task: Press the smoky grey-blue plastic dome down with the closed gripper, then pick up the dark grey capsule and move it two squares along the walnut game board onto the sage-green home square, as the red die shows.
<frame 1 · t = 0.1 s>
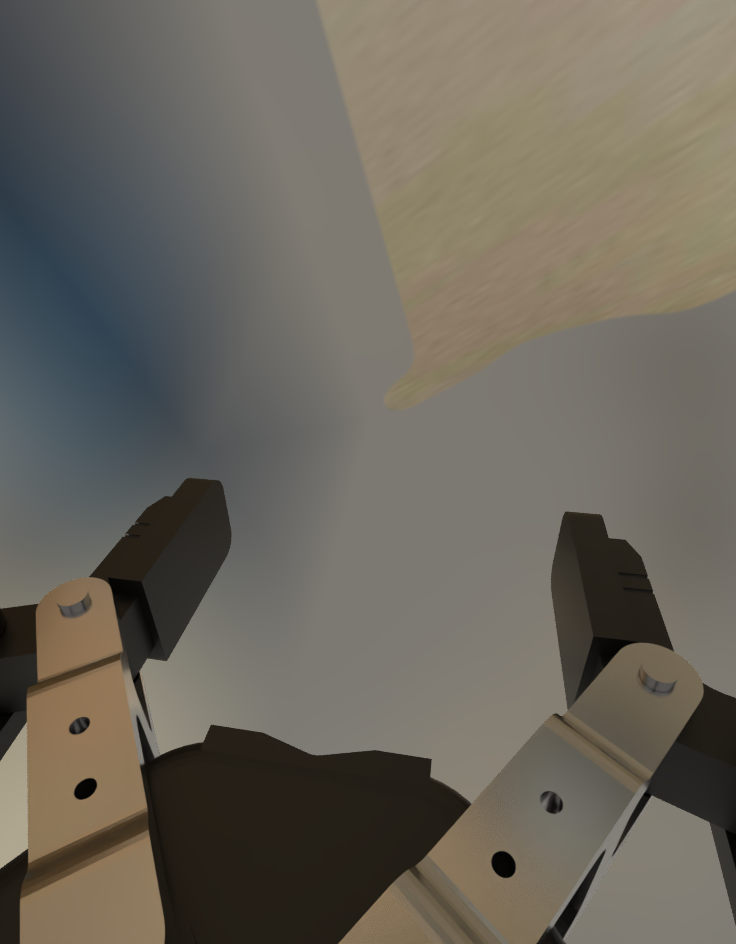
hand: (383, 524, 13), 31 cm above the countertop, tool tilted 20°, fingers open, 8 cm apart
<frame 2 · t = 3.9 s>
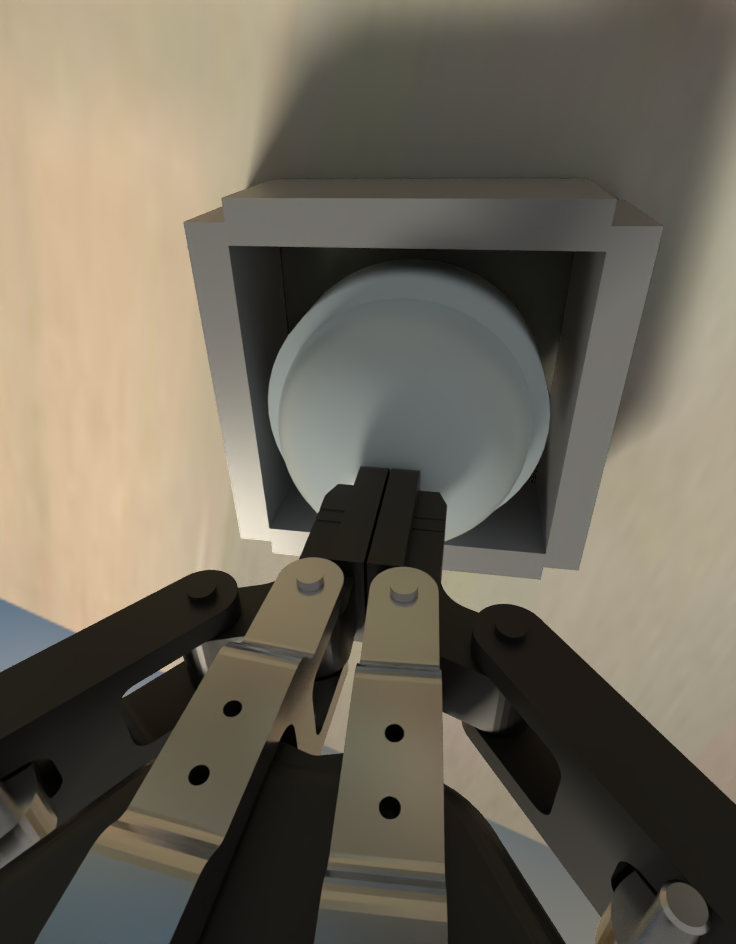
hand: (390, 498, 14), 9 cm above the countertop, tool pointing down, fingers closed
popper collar: (417, 362, 21), on the countertop
dome: (403, 423, 17), point 5 cm above the countertop, slide at 0.5 cm, touching gripper
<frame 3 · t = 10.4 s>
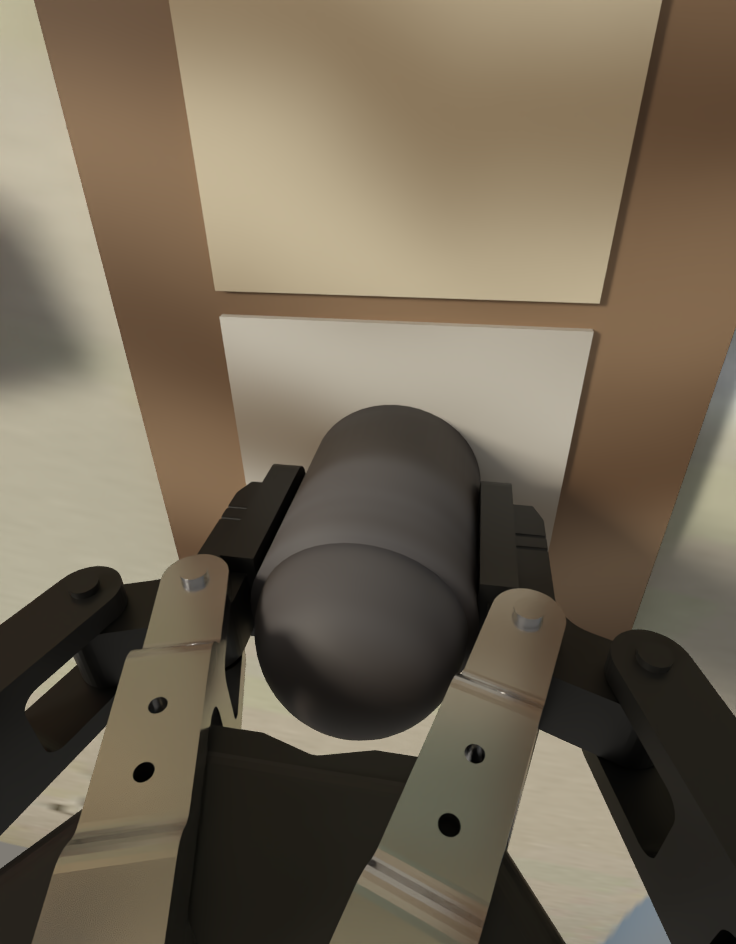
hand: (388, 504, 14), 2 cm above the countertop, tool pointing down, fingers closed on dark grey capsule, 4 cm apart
game board: (405, 60, 11), on the countertop
dark grey capsule: (395, 480, 15), point 1 cm above the countertop, touching game board, gripper
when the fingers open (4 cm above the countertop, at t = 16.5 s): dark grey capsule drops 2 cm, resting on game board.
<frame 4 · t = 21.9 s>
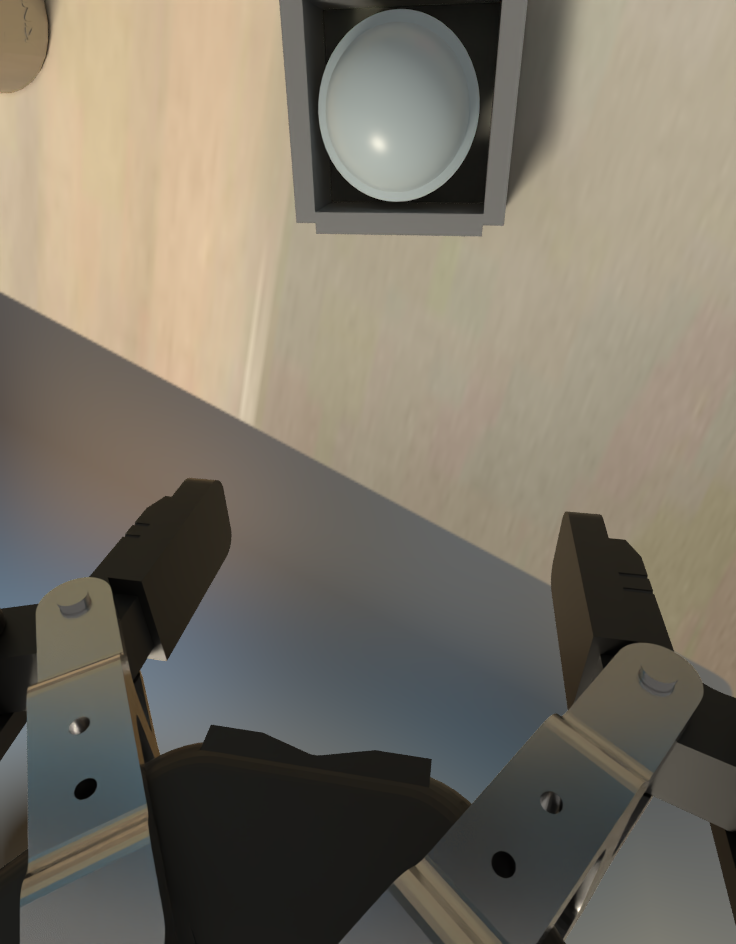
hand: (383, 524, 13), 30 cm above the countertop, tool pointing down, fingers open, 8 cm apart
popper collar: (407, 111, 34), on the countertop
dome: (397, 112, 30), point 5 cm above the countertop, slide at 0.2 cm
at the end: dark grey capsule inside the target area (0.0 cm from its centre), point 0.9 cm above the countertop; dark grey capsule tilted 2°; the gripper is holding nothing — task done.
